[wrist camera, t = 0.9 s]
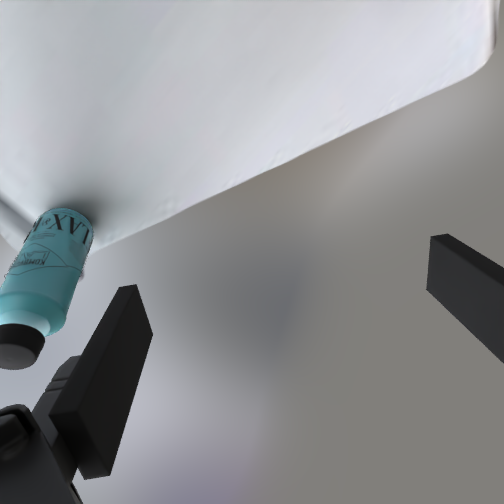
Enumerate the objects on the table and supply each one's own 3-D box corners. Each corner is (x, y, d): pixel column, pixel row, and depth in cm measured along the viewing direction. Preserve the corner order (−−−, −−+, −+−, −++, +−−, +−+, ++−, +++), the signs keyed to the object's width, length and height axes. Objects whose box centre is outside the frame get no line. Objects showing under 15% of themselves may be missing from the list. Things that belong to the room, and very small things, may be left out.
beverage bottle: (107, 229, 45) (72, 362, 30) (65, 249, 46) (11, 389, 31) (71, 190, 41) (9, 323, 26) (26, 213, 42) (-60, 355, 26)
